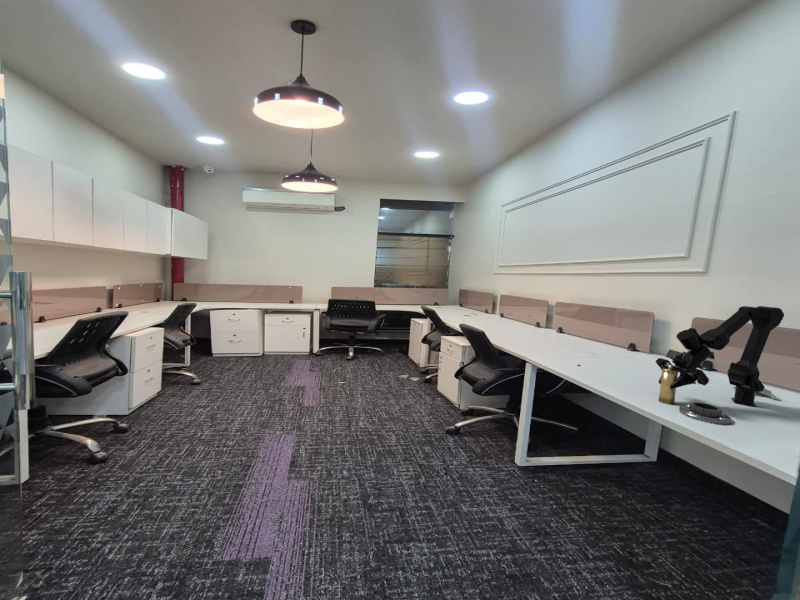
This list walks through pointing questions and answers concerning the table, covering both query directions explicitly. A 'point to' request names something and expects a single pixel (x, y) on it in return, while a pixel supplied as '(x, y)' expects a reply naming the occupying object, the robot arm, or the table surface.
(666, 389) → the brass pepper mill
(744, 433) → the table surface
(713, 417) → the grey flange
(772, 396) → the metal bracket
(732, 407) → the table surface
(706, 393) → the table surface
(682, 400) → the table surface
